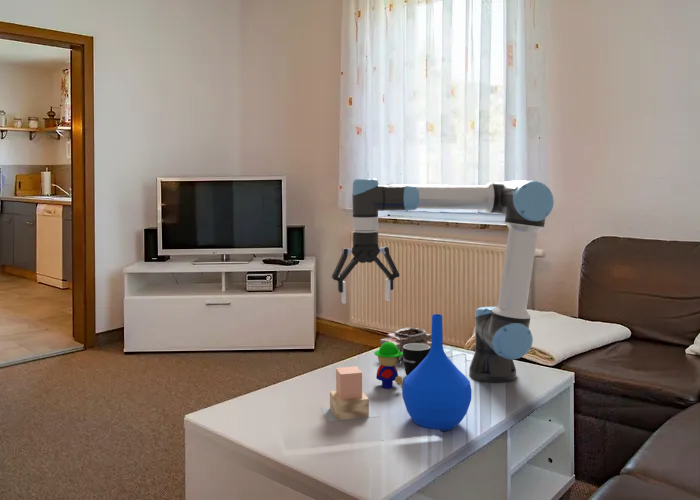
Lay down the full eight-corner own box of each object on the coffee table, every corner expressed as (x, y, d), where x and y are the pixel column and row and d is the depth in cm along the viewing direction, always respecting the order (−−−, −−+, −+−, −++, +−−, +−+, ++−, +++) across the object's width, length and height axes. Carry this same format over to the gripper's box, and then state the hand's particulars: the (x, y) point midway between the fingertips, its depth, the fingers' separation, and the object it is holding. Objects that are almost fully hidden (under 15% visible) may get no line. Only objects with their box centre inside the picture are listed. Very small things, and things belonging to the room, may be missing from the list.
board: (369, 408, 186) (369, 403, 186) (378, 420, 176) (378, 416, 176) (321, 412, 183) (321, 408, 183) (327, 425, 173) (327, 421, 173)
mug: (397, 375, 216) (397, 345, 214) (417, 370, 221) (417, 341, 220) (421, 384, 206) (421, 353, 205) (442, 379, 211) (442, 349, 210)
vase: (422, 407, 186) (423, 305, 183) (482, 420, 176) (484, 312, 172) (389, 428, 171) (389, 317, 168) (452, 444, 161) (453, 326, 157)
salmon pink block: (357, 390, 183) (356, 366, 182) (362, 397, 177) (362, 372, 176) (336, 392, 181) (336, 367, 180) (340, 399, 175) (340, 374, 175)
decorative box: (441, 358, 235) (442, 332, 234) (396, 367, 225) (396, 340, 224) (419, 350, 246) (419, 325, 245) (375, 358, 236) (375, 332, 235)
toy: (402, 396, 196) (402, 347, 194) (371, 394, 197) (371, 346, 196) (406, 384, 206) (406, 338, 204) (377, 383, 208) (376, 337, 206)
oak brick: (361, 405, 185) (360, 388, 184) (368, 416, 176) (368, 398, 176) (330, 408, 183) (329, 390, 182) (336, 419, 174) (336, 401, 174)
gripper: (402, 228, 198) (402, 297, 200) (321, 231, 192) (322, 301, 195) (409, 231, 190) (409, 302, 193) (326, 233, 185) (327, 306, 187)
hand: (365, 302), depth 194 cm, fingers open, 13 cm apart
